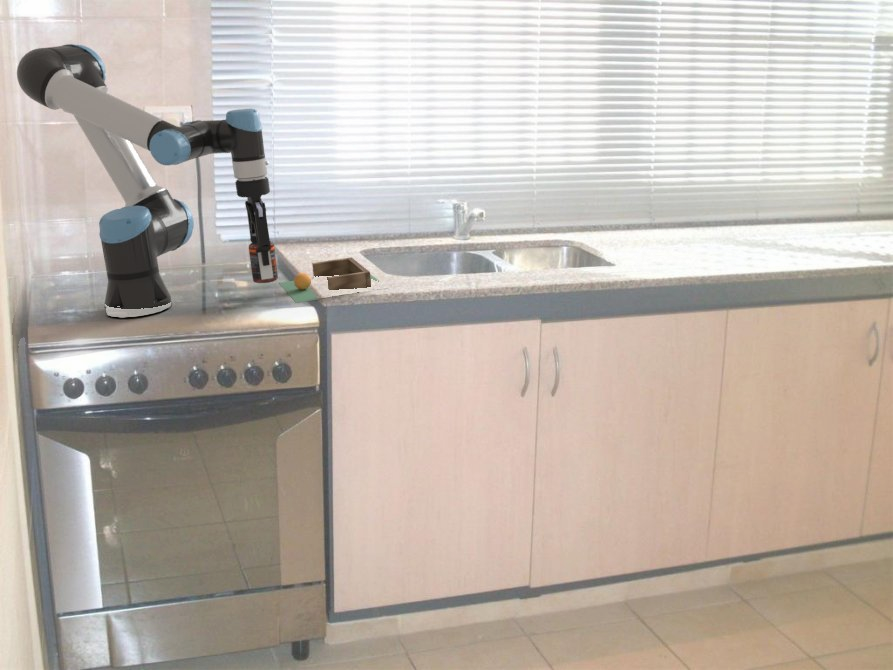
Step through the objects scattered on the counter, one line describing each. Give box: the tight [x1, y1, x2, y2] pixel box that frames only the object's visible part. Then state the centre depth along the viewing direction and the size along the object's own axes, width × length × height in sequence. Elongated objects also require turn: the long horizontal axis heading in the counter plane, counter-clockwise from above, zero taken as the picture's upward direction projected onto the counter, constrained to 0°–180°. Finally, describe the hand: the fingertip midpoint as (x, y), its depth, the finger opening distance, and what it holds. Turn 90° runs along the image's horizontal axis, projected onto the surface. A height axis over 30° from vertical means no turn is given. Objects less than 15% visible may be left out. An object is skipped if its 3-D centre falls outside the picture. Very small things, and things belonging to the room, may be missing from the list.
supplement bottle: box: [248, 233, 279, 284], centre depth 261 cm, size 6×6×11 cm
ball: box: [293, 272, 311, 290], centre depth 266 cm, size 4×4×4 cm
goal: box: [311, 256, 371, 290], centre depth 269 cm, size 10×18×4 cm, turn 19°
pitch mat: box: [279, 273, 380, 304], centre depth 268 cm, size 22×21×1 cm
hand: (264, 275), depth 262 cm, fingers closed on supplement bottle, 6 cm apart
